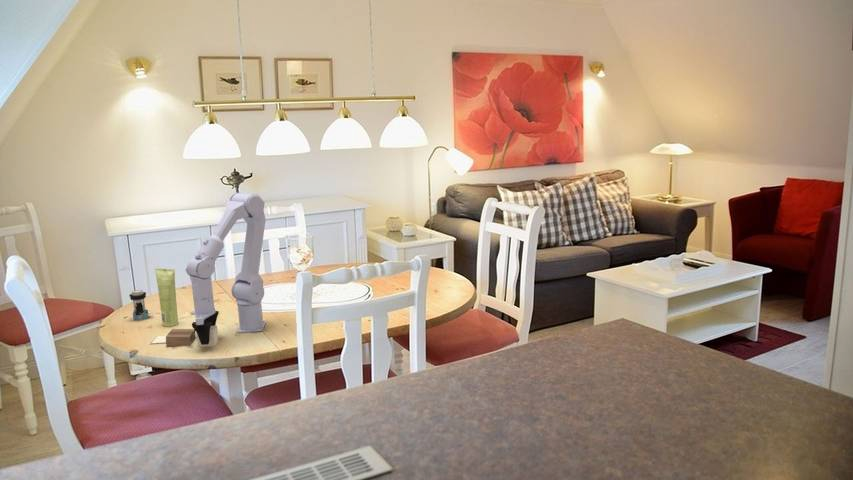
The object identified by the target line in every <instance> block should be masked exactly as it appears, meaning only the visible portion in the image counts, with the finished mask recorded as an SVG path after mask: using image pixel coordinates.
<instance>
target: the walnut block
mask: <svg viewBox="0 0 853 480" xmlns="http://www.w3.org/2000/svg"><path fill="white" fill-rule="evenodd" d="M165 336H166V344H165V347H184V346H185V347H186V346H191V345H192V343H193V342H194V340H195V339H196V331H195V330H194V328H171V330H170V331H169V332H168V333H167V334H166V335H165Z"/></svg>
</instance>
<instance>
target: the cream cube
mask: <svg viewBox="0 0 853 480" xmlns="http://www.w3.org/2000/svg"><path fill="white" fill-rule="evenodd" d="M218 330H219V329H218V325H216V326H211V327H210V337H209V344H205V345H201V342H200V340H199V337H198V335H197V334H196V341H197V348H203V347H204V348H205V347H206V348H207V347H216V345H217V343H218V342H219V331H218Z"/></svg>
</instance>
